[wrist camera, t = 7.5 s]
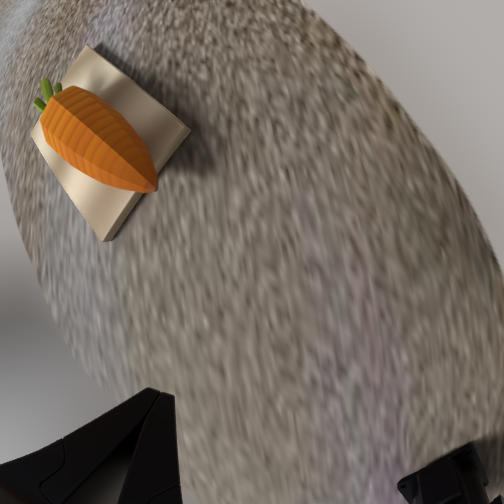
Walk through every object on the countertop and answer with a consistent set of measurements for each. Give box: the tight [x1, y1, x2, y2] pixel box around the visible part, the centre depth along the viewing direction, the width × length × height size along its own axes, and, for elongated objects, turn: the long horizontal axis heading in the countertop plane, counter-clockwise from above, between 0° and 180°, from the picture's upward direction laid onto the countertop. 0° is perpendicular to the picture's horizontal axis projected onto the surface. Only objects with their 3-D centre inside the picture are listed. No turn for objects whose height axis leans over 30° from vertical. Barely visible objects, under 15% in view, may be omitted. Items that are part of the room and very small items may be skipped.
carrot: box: [34, 78, 158, 193], centre depth 18 cm, size 5×5×15 cm
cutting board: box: [31, 45, 192, 242], centre depth 21 cm, size 15×10×1 cm, turn 46°
